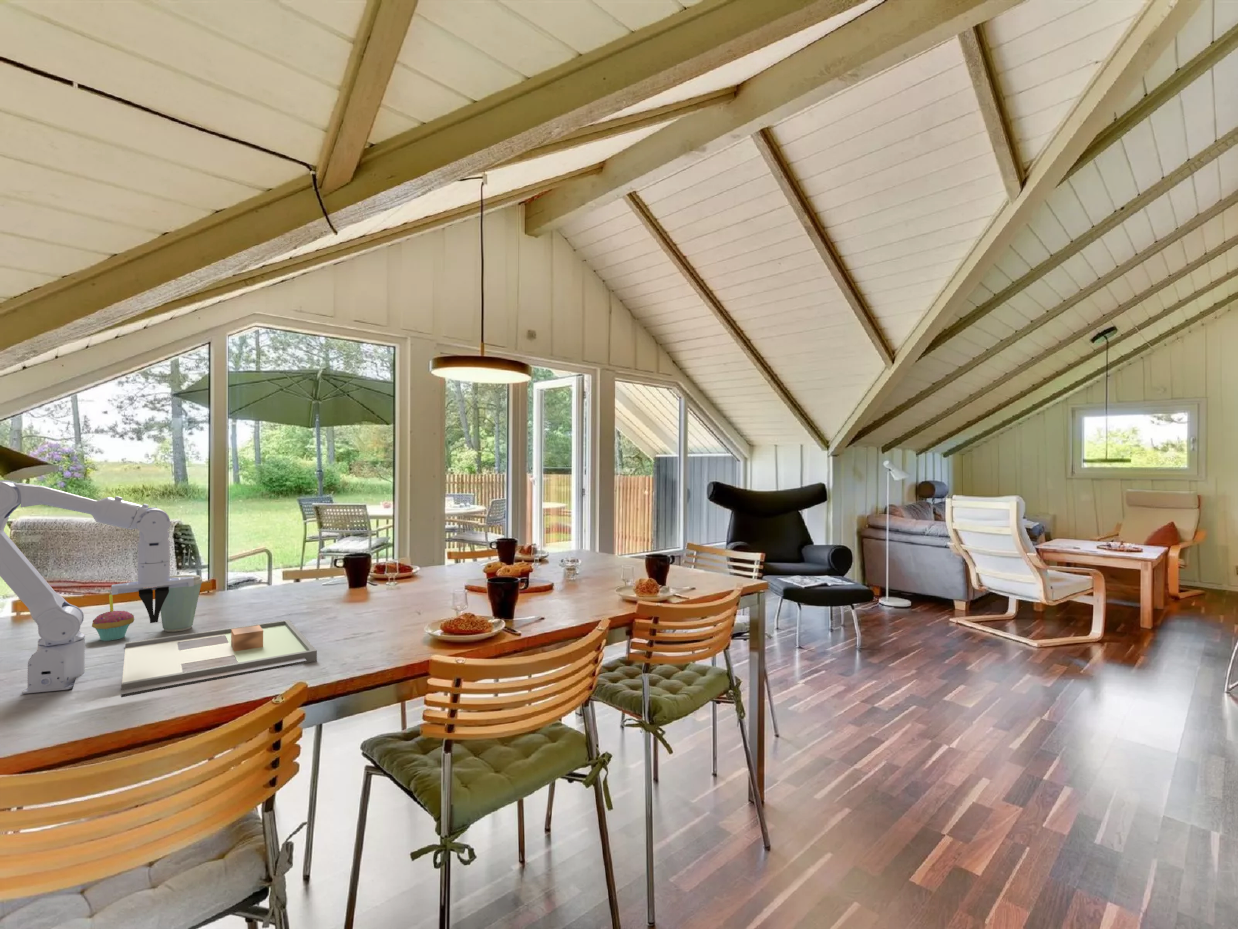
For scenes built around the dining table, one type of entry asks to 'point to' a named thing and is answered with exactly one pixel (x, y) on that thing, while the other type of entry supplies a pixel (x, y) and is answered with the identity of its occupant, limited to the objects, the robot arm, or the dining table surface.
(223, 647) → the sectioned serving tray
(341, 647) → the dining table surface
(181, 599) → the disposable coffee cup
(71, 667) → the robot arm
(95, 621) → the cupcake
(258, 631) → the block
